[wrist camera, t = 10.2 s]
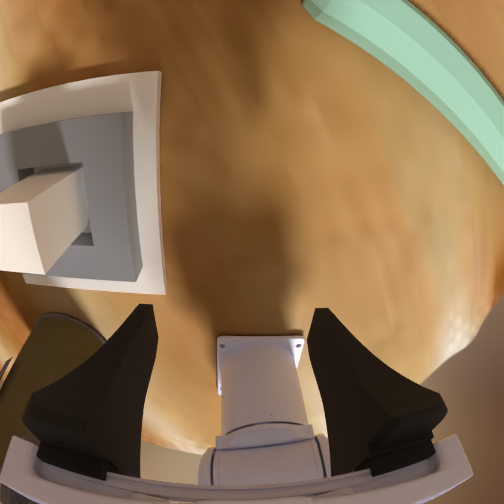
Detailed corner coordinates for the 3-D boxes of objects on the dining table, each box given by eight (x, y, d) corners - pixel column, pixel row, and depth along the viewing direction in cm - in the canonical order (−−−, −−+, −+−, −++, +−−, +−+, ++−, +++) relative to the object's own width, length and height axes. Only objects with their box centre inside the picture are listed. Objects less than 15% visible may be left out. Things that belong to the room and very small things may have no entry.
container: (314, -30, 8) (548, 211, 15) (342, -66, 8) (551, 155, 14) (277, 28, 14) (501, 207, 20) (307, -18, 14) (508, 157, 20)
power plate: (167, 287, 23) (160, 311, 20) (30, 277, 22) (15, 296, 19) (161, 72, 15) (149, 67, 13) (1, 103, 14) (-23, 108, 11)
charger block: (93, 220, 19) (45, 274, 12) (49, 220, 18) (-3, 269, 12) (86, 165, 17) (27, 202, 11) (42, 169, 16) (-21, 205, 10)
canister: (136, 365, 28) (104, 546, 10) (83, 385, 30) (47, 524, 12) (60, 293, 23) (-30, 487, 5) (19, 327, 25) (-48, 470, 7)
